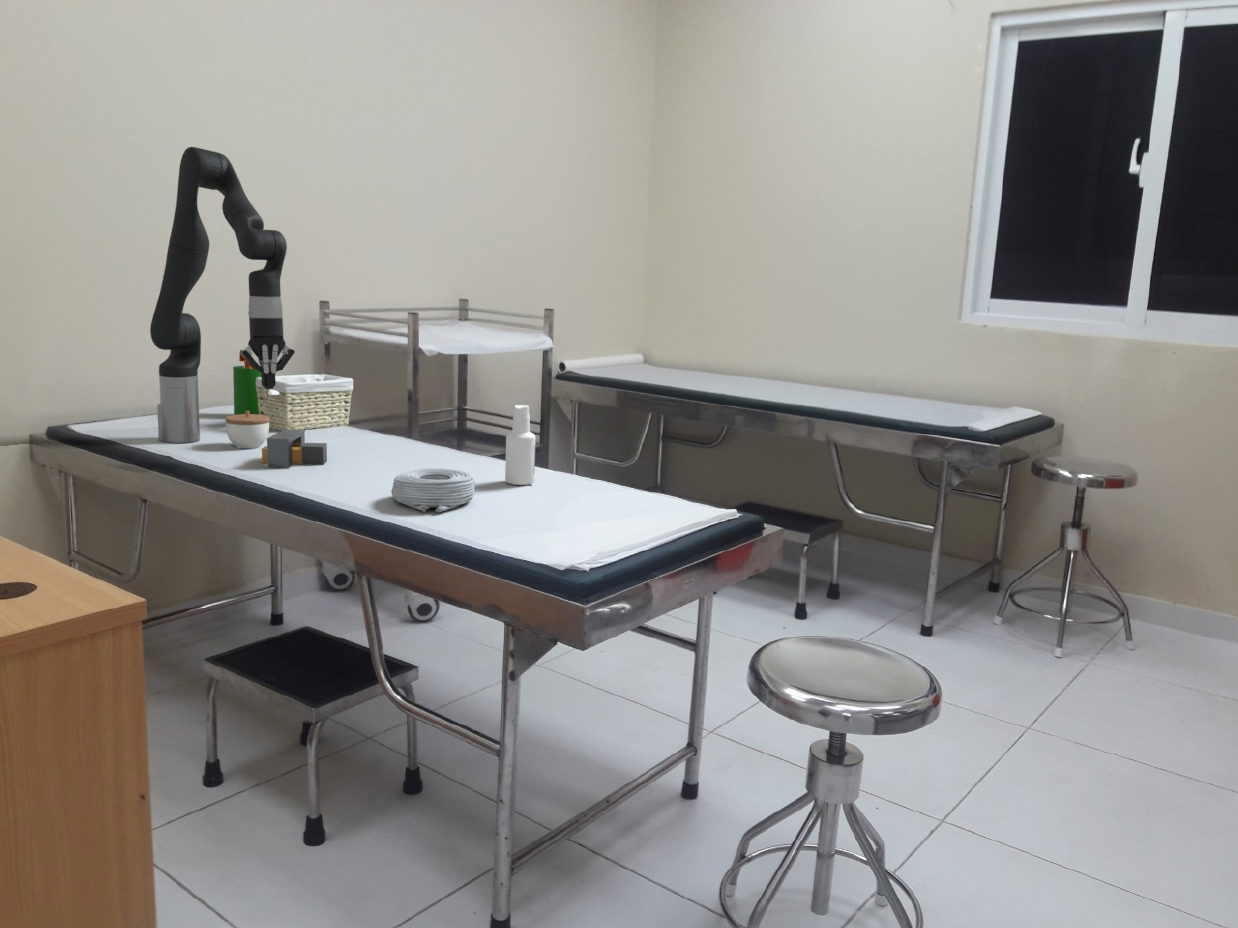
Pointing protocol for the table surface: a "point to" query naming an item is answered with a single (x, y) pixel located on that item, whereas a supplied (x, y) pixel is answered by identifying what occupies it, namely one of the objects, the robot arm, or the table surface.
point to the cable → (433, 488)
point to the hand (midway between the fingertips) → (269, 388)
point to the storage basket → (306, 401)
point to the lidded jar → (247, 429)
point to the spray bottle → (520, 449)
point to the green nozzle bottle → (245, 389)
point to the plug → (305, 454)
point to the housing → (283, 447)
